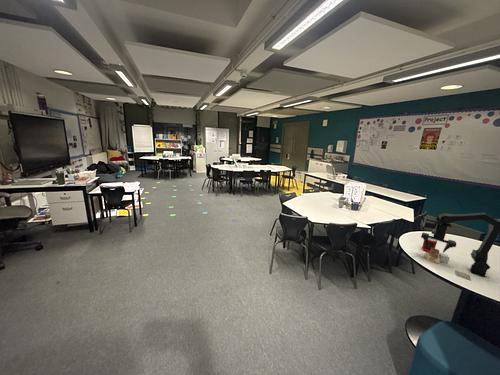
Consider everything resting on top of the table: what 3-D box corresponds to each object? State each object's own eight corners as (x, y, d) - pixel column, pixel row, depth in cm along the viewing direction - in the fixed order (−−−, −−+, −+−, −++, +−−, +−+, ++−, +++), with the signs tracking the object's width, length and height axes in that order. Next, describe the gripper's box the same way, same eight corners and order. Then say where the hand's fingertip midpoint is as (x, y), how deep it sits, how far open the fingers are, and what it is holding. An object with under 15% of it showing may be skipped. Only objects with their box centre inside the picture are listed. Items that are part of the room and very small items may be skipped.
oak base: (436, 259, 153) (438, 255, 152) (438, 264, 147) (440, 259, 146) (424, 256, 157) (426, 252, 156) (426, 260, 151) (427, 256, 150)
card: (469, 275, 136) (469, 274, 136) (470, 280, 131) (471, 279, 131) (455, 270, 141) (455, 270, 140) (455, 275, 136) (456, 274, 135)
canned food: (430, 248, 168) (434, 237, 165) (435, 254, 161) (439, 241, 158) (419, 247, 170) (423, 235, 167) (424, 252, 163) (428, 239, 160)
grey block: (445, 260, 153) (447, 254, 151) (447, 263, 149) (449, 257, 147) (437, 258, 155) (439, 252, 153) (439, 261, 151) (441, 255, 149)
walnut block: (437, 255, 151) (439, 249, 150) (437, 258, 148) (439, 252, 147) (429, 253, 154) (431, 247, 153) (429, 255, 151) (431, 249, 149)
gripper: (458, 231, 146) (451, 250, 150) (424, 223, 158) (419, 241, 162) (459, 236, 138) (452, 256, 142) (424, 227, 150) (418, 246, 154)
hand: (434, 249), depth 150 cm, fingers open, 9 cm apart
